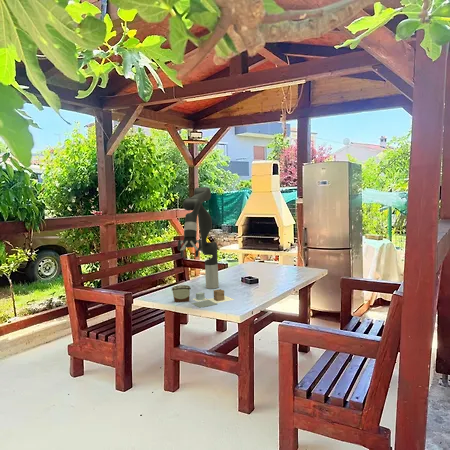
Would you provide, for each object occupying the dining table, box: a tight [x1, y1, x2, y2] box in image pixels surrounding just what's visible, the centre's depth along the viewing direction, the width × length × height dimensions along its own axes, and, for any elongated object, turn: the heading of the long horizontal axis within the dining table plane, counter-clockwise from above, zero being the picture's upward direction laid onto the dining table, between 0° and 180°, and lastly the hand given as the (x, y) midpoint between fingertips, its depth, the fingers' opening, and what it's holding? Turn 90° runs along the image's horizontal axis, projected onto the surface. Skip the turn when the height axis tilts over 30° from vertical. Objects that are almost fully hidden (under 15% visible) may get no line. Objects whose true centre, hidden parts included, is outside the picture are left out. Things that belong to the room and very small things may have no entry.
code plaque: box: [204, 295, 235, 304], centre depth 246 cm, size 12×16×1 cm
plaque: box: [192, 297, 208, 302], centre depth 250 cm, size 8×8×1 cm
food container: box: [171, 284, 191, 303], centre depth 248 cm, size 12×6×10 cm, turn 92°
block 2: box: [213, 288, 225, 301], centre depth 246 cm, size 5×5×6 cm
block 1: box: [195, 291, 206, 300], centre depth 250 cm, size 4×4×4 cm
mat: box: [191, 300, 219, 309], centre depth 238 cm, size 12×12×1 cm
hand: (189, 257), depth 224 cm, fingers open, 8 cm apart
